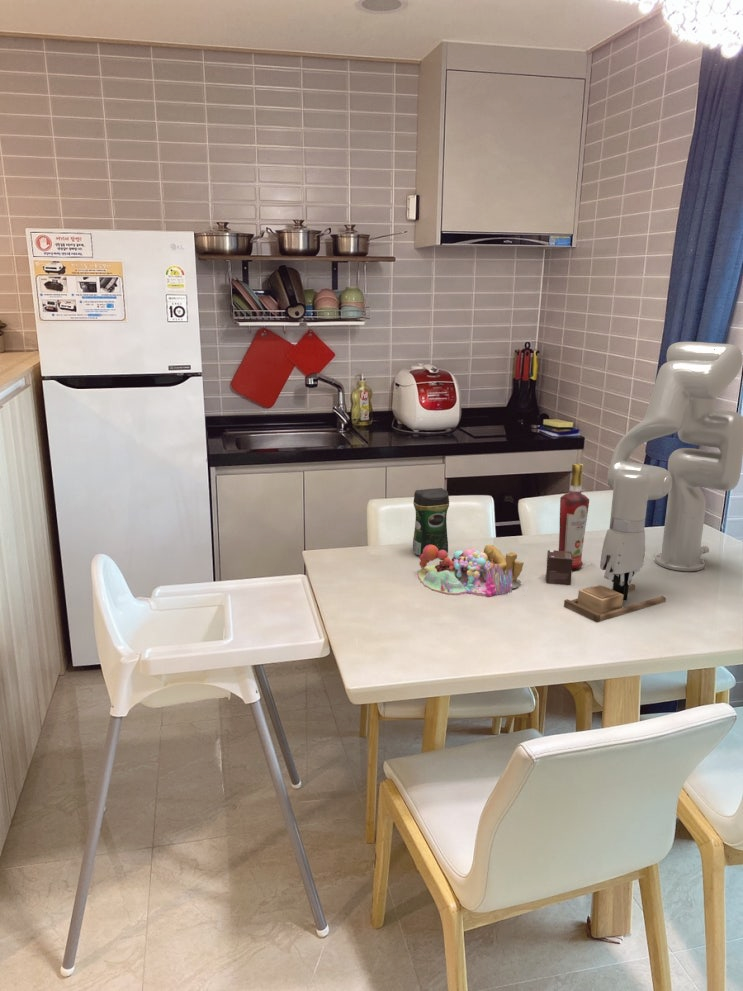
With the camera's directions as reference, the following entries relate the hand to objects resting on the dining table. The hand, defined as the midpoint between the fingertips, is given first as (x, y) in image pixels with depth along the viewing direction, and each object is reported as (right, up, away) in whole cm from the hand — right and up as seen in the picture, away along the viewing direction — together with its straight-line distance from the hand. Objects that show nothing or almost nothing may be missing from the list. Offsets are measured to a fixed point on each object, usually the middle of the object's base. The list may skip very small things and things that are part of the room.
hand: (619, 598), depth 180 cm
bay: (-1, -2, 0) cm, 2 cm away
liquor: (-6, +5, +24) cm, 25 cm away
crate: (-6, -2, -3) cm, 7 cm away
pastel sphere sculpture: (-33, +2, +15) cm, 36 cm away
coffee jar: (-42, +8, +33) cm, 54 cm away
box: (-11, +2, +14) cm, 18 cm away
